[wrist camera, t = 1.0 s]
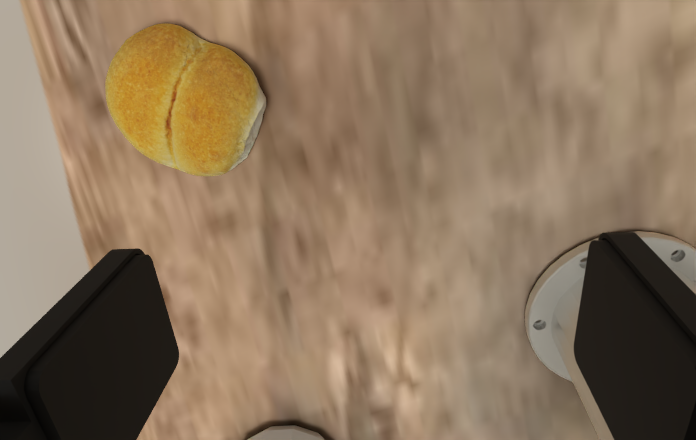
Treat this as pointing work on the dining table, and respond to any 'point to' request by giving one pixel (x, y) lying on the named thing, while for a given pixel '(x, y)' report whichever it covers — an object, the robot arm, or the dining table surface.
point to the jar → (287, 434)
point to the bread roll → (184, 100)
